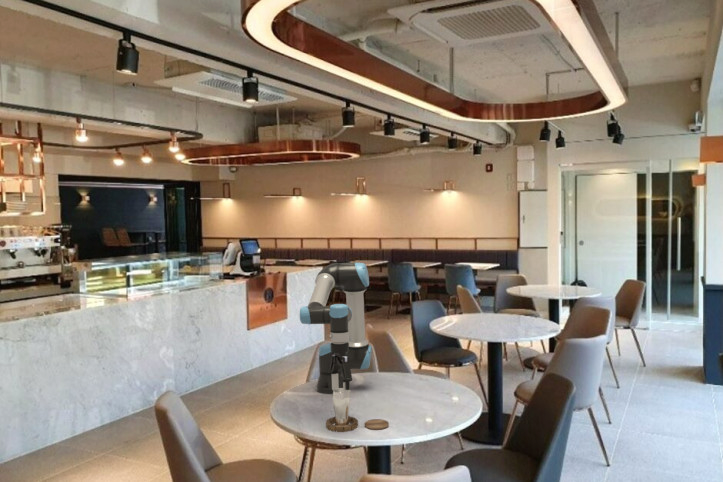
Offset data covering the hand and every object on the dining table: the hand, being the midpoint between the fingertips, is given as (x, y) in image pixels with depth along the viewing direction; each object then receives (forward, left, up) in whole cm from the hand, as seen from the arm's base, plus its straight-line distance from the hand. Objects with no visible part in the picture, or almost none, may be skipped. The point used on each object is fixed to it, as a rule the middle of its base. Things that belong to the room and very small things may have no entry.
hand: (340, 393), depth 238 cm
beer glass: (0, 0, -14) cm, 14 cm away
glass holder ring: (0, 0, -14) cm, 14 cm away
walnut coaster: (+6, +13, -14) cm, 20 cm away
